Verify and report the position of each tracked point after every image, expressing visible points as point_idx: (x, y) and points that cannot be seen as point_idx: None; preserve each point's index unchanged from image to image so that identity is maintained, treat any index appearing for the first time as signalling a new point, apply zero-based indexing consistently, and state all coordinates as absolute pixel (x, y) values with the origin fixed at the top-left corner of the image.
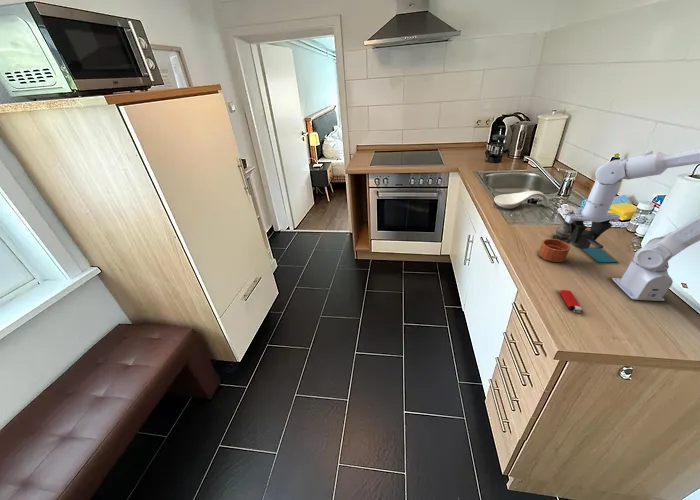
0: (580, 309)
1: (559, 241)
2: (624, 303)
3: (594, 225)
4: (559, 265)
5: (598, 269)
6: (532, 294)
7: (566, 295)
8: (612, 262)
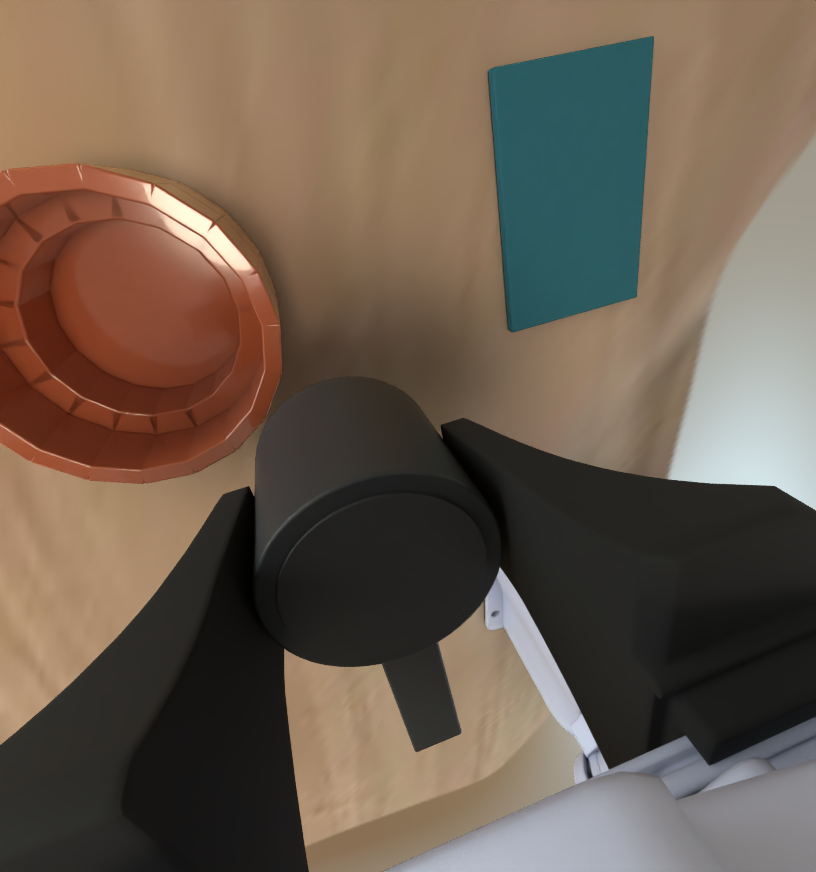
0: None
1: (179, 223)
2: (442, 653)
3: (566, 584)
4: None
5: (467, 415)
6: None
7: None
8: (602, 303)
